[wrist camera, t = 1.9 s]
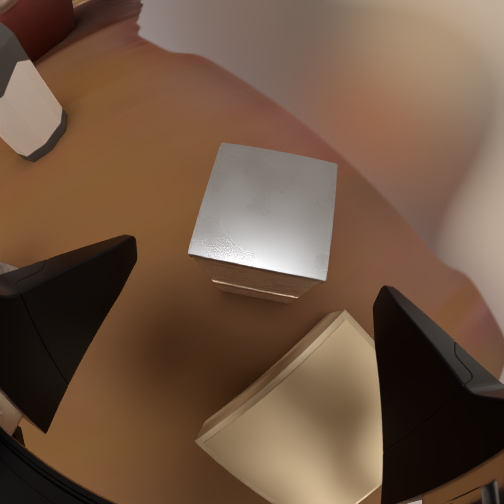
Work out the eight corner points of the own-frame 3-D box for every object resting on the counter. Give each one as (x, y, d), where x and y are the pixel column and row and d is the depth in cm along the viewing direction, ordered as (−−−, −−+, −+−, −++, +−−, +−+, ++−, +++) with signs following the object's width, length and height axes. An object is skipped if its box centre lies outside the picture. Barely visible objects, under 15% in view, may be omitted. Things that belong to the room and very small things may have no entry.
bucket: (57, 55, 31) (15, -28, 7) (-6, 93, 31) (-49, 32, 7) (96, 9, 38) (73, -56, 14) (35, 39, 37) (8, -15, 13)
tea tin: (289, 304, 19) (325, 280, 10) (219, 290, 20) (187, 253, 10) (300, 238, 21) (337, 163, 11) (234, 225, 21) (221, 142, 11)
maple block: (309, 504, 14) (318, 531, 10) (204, 421, 17) (193, 442, 13) (415, 408, 17) (443, 419, 13) (327, 313, 19) (346, 309, 15)
